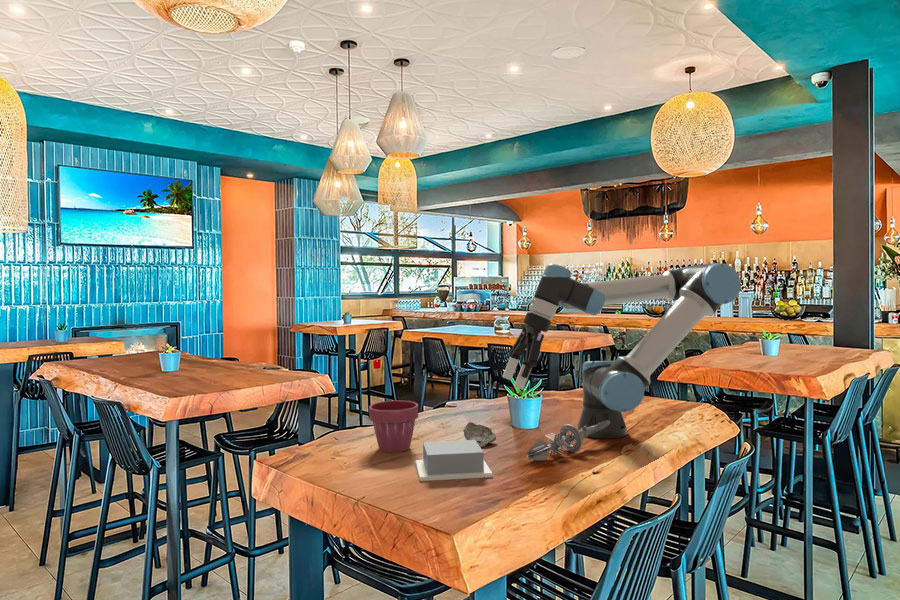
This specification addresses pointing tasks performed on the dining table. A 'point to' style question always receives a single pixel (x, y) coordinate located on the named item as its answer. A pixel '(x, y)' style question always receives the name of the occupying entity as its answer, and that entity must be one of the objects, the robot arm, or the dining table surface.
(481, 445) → the rock sample
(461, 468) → the plinth
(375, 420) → the plant pot
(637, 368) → the robot arm
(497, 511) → the dining table surface
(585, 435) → the spaceship
